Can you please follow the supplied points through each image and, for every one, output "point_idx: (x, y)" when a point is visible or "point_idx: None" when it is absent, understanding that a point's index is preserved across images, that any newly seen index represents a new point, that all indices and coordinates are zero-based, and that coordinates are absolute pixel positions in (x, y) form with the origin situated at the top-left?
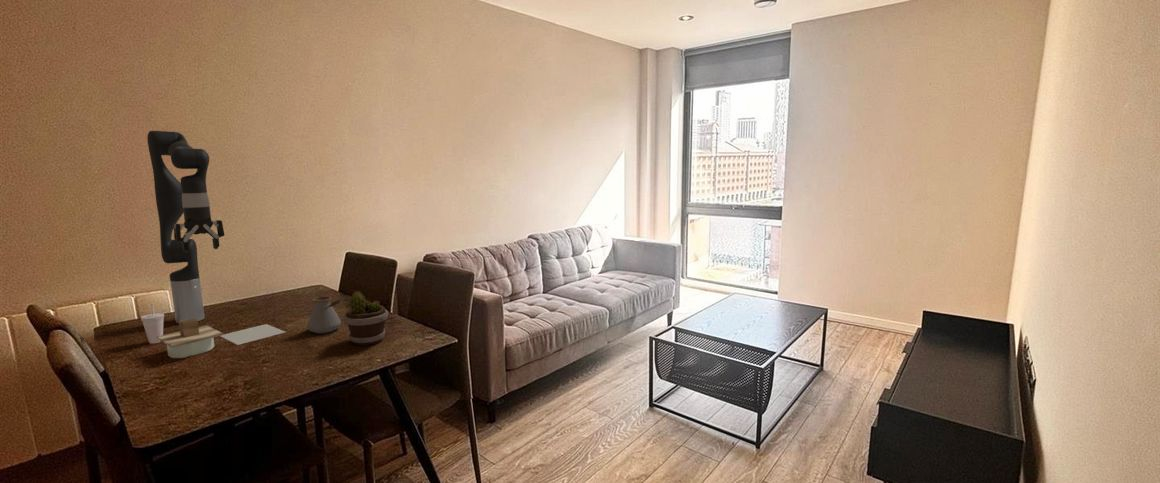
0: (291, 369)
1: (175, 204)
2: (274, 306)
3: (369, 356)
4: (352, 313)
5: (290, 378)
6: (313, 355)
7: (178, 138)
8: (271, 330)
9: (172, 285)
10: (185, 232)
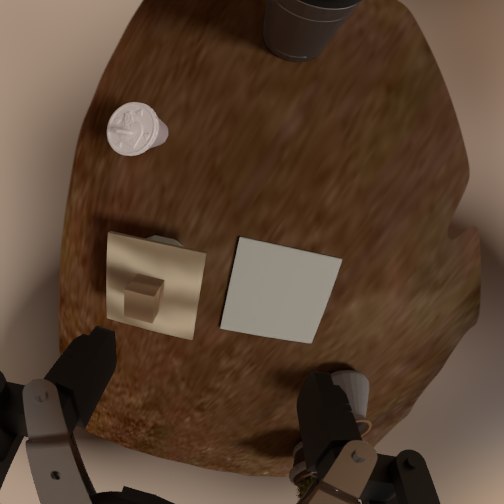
0: (202, 439)
1: None
2: (447, 139)
3: (270, 466)
4: (299, 481)
5: (187, 448)
6: (246, 434)
7: None
8: (310, 311)
9: None
10: (31, 465)
